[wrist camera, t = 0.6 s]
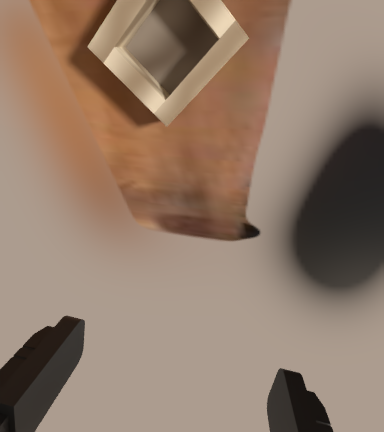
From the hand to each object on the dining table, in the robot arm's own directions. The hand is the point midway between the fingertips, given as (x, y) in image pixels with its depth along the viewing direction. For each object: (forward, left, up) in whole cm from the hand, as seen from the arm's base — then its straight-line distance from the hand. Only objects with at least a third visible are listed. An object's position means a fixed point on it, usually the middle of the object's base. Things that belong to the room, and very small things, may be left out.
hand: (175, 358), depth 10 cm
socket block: (-11, +5, -30) cm, 32 cm away
